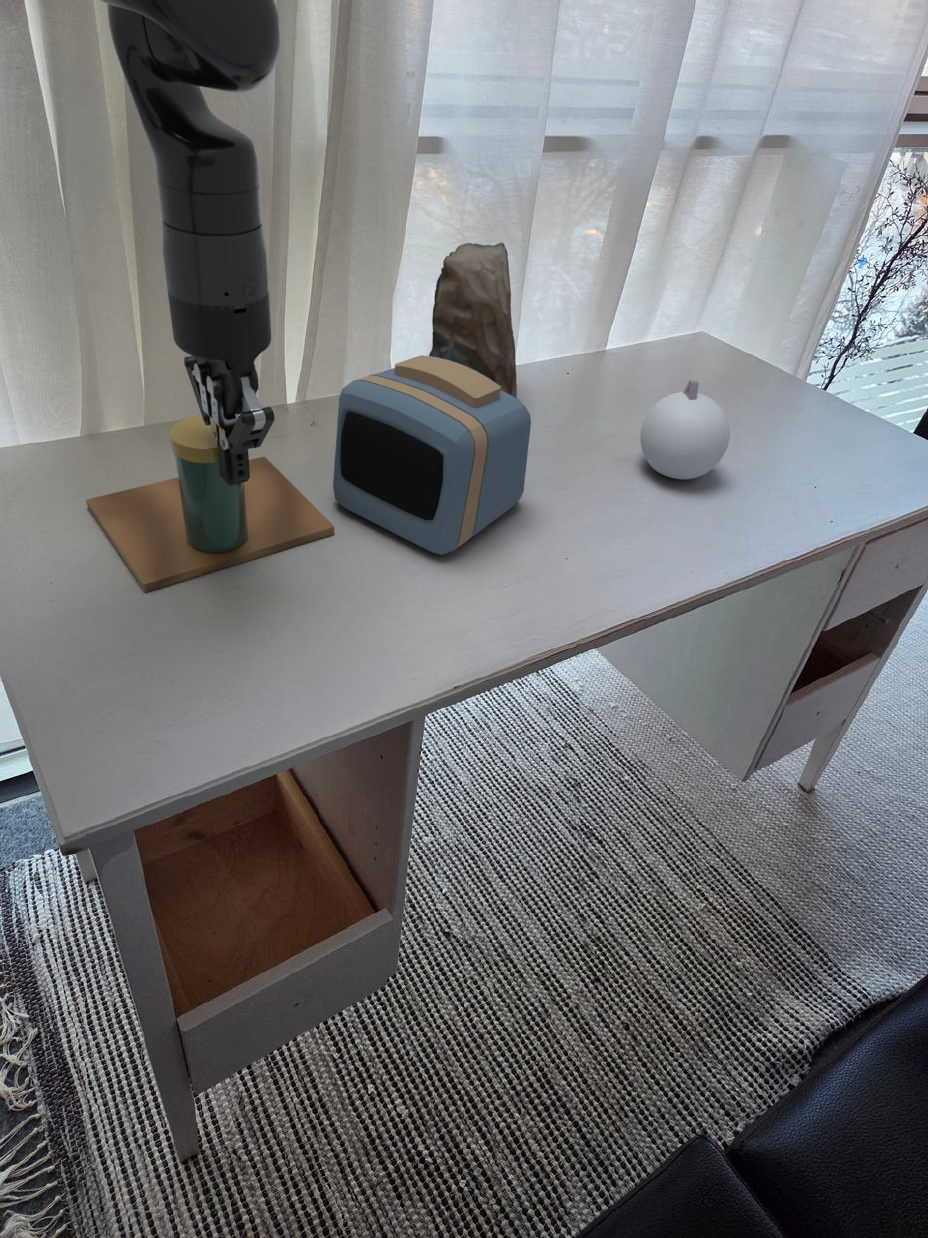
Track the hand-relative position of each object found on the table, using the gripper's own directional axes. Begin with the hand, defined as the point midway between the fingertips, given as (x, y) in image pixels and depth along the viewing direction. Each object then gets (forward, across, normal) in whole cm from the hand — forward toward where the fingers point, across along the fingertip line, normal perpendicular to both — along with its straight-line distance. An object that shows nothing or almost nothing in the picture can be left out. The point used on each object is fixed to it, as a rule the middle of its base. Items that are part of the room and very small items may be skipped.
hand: (235, 479), depth 75 cm
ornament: (+11, +6, +55) cm, 56 cm away
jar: (+9, -5, 0) cm, 11 cm away
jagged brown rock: (+10, -17, +41) cm, 45 cm away
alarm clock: (+10, -1, +23) cm, 25 cm away
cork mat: (+10, -9, +1) cm, 14 cm away
